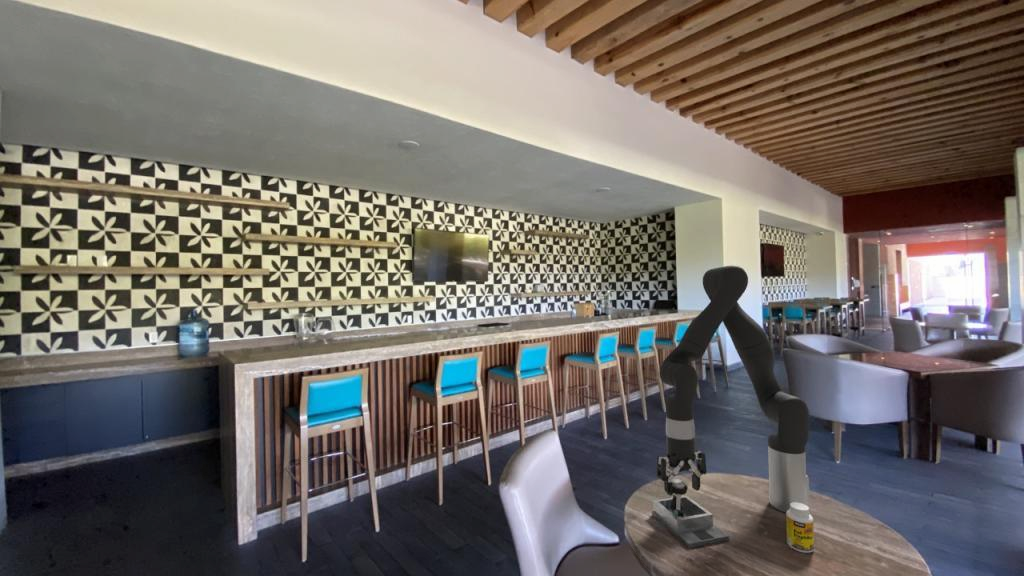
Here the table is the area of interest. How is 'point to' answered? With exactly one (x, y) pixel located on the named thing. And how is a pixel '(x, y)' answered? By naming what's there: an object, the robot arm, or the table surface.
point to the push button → (677, 497)
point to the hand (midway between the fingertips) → (682, 491)
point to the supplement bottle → (800, 528)
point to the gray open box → (689, 523)
